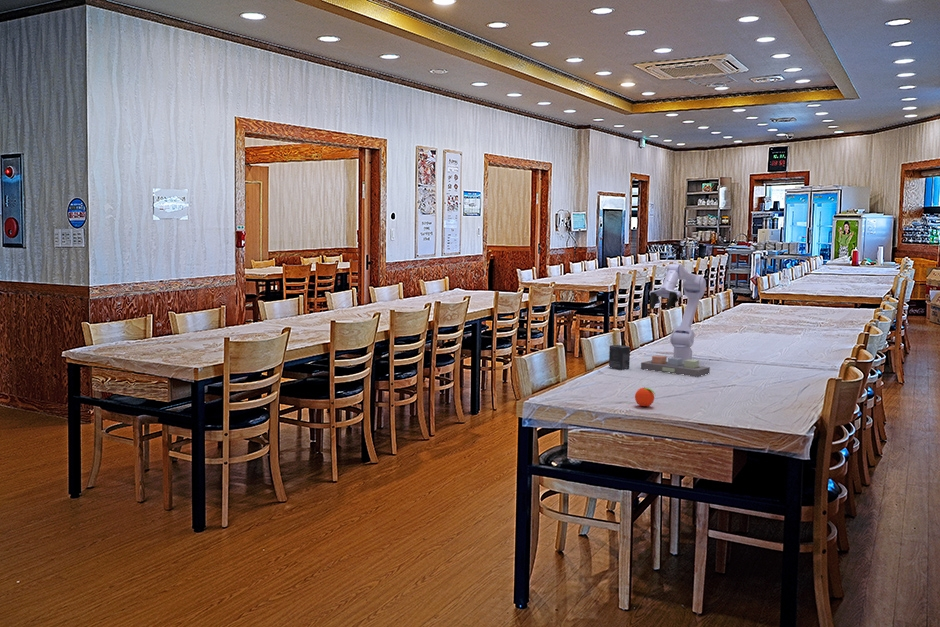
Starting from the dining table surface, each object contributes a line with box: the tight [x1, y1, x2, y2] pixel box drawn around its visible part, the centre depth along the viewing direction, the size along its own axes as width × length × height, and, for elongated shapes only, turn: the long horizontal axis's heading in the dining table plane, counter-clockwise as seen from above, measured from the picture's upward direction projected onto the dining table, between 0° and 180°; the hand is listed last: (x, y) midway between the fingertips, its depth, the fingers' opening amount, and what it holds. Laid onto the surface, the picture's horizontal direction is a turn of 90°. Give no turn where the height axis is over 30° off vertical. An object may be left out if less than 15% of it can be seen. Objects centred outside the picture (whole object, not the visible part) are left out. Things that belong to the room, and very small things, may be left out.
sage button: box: [684, 359, 700, 369], centre depth 372 cm, size 5×5×4 cm
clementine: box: [634, 386, 656, 407], centre depth 300 cm, size 8×7×7 cm
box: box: [608, 344, 631, 371], centre depth 382 cm, size 8×6×11 cm
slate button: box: [667, 356, 683, 366], centre depth 377 cm, size 5×5×4 cm
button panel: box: [640, 359, 711, 377], centre depth 377 cm, size 12×28×3 cm, turn 49°
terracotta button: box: [651, 354, 668, 364], centre depth 382 cm, size 5×5×4 cm
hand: (659, 308), depth 370 cm, fingers open, 7 cm apart
